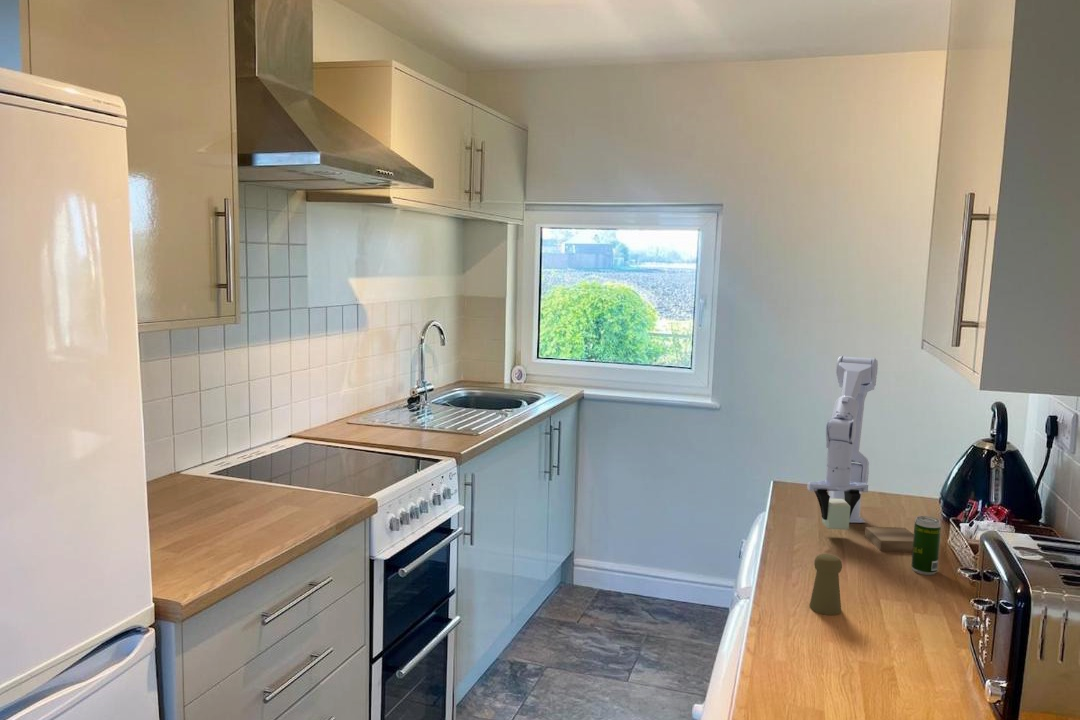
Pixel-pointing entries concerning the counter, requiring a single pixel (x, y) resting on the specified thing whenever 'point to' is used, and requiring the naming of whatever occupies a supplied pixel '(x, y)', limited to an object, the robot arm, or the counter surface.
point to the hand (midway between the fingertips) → (835, 518)
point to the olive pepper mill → (826, 585)
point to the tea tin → (837, 514)
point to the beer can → (926, 545)
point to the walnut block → (890, 538)
